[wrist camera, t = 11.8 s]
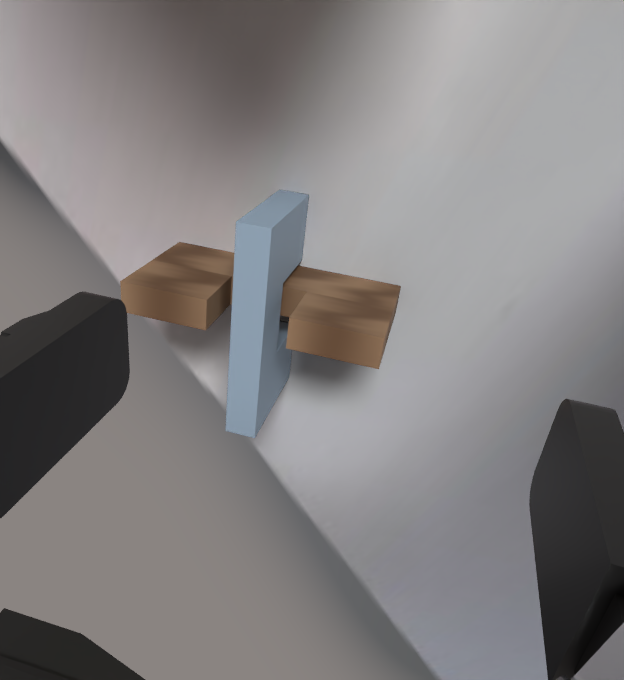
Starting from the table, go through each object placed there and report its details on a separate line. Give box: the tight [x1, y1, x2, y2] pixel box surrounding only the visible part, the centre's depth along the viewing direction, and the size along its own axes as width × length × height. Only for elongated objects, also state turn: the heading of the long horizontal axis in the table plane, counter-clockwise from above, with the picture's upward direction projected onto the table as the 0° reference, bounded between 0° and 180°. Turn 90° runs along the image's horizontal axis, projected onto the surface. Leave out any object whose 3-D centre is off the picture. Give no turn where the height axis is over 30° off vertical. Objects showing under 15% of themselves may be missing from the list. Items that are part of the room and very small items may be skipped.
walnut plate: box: [120, 242, 401, 369], centre depth 37 cm, size 16×2×8 cm, turn 83°
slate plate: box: [226, 190, 309, 438], centre depth 38 cm, size 14×2×8 cm, turn 173°
